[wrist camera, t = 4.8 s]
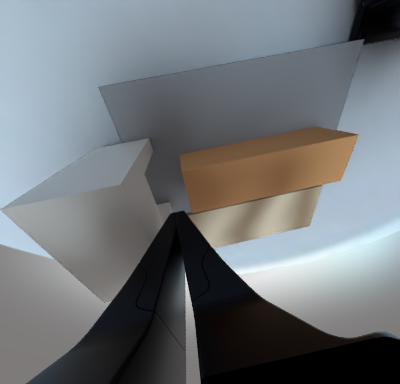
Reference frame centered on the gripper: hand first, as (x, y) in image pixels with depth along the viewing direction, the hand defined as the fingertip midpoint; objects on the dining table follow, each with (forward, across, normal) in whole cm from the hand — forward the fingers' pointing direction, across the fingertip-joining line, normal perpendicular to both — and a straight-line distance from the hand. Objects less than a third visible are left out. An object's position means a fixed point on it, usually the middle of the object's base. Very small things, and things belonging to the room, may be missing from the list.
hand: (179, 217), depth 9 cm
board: (+7, -6, +2) cm, 9 cm away
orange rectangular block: (+6, -7, 0) cm, 9 cm away
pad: (+6, -7, +7) cm, 11 cm away
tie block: (+6, +3, 0) cm, 7 cm away
